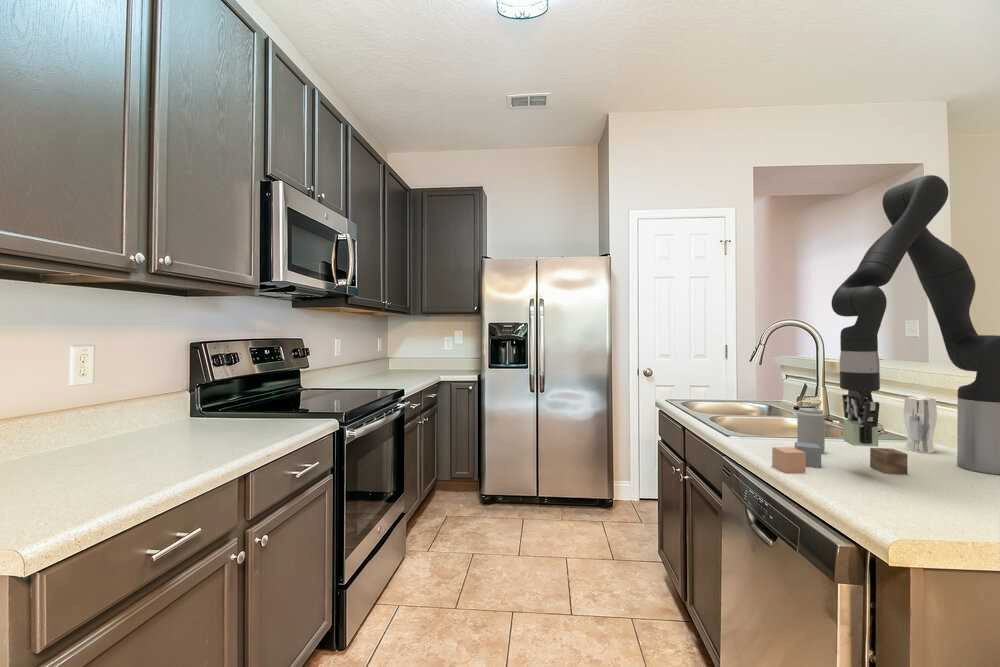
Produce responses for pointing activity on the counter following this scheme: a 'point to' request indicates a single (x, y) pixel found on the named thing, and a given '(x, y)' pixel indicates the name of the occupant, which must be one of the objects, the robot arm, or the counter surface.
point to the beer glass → (920, 423)
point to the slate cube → (810, 453)
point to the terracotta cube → (788, 459)
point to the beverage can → (811, 427)
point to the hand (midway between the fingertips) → (860, 440)
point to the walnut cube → (888, 460)
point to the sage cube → (853, 434)
